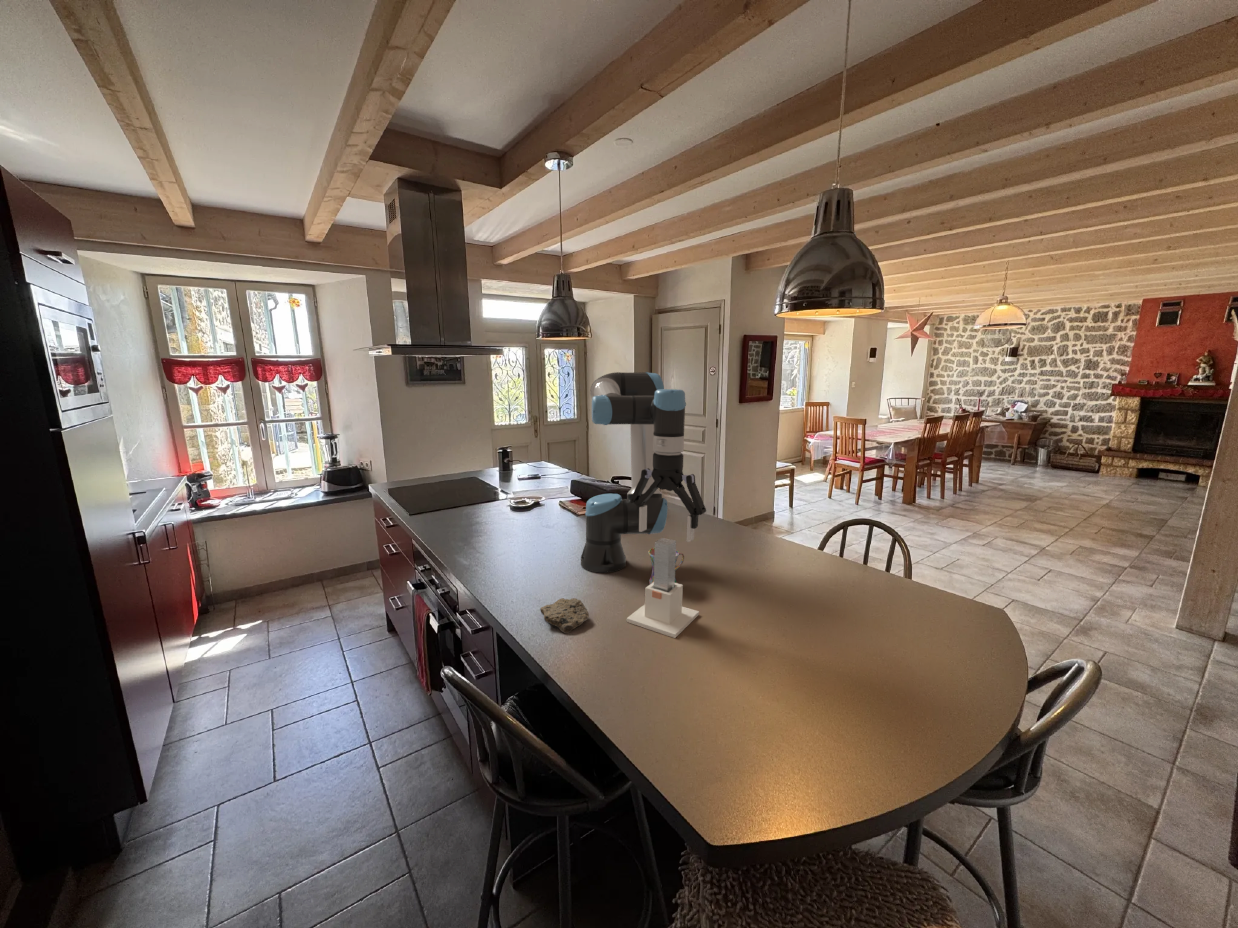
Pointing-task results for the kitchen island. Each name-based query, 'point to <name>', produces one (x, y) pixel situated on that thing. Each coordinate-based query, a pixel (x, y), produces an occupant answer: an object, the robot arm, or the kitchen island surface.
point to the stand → (663, 612)
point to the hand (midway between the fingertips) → (665, 535)
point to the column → (664, 564)
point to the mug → (651, 554)
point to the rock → (565, 614)
